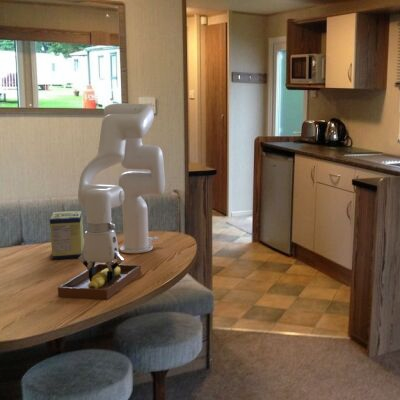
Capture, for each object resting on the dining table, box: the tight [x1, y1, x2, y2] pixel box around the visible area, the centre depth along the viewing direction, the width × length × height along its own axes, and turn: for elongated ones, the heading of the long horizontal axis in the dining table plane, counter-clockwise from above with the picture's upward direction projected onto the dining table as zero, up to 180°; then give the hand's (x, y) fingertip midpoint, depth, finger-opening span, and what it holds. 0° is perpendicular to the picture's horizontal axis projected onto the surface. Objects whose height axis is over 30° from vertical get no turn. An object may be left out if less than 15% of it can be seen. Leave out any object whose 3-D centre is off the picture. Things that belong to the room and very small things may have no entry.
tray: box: [57, 262, 142, 300], centre depth 183 cm, size 26×16×3 cm, turn 175°
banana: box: [88, 266, 121, 289], centre depth 183 cm, size 20×4×4 cm, turn 175°
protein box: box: [49, 209, 84, 261], centre depth 216 cm, size 10×16×16 cm
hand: (102, 280), depth 183 cm, fingers open, 5 cm apart
